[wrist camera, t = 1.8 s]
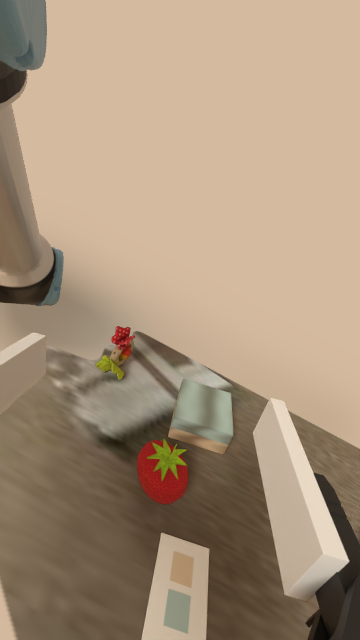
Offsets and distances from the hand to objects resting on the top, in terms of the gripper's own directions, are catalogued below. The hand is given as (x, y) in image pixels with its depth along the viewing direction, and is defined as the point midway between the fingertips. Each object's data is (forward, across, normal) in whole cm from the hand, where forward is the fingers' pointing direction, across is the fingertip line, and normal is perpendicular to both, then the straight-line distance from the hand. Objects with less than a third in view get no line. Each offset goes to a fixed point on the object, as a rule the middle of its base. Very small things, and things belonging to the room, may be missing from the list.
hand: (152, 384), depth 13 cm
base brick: (+23, +8, -25) cm, 35 cm away
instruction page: (+1, +8, -26) cm, 27 cm away
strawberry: (+9, +3, -26) cm, 28 cm away
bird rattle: (+32, -12, -25) cm, 42 cm away
